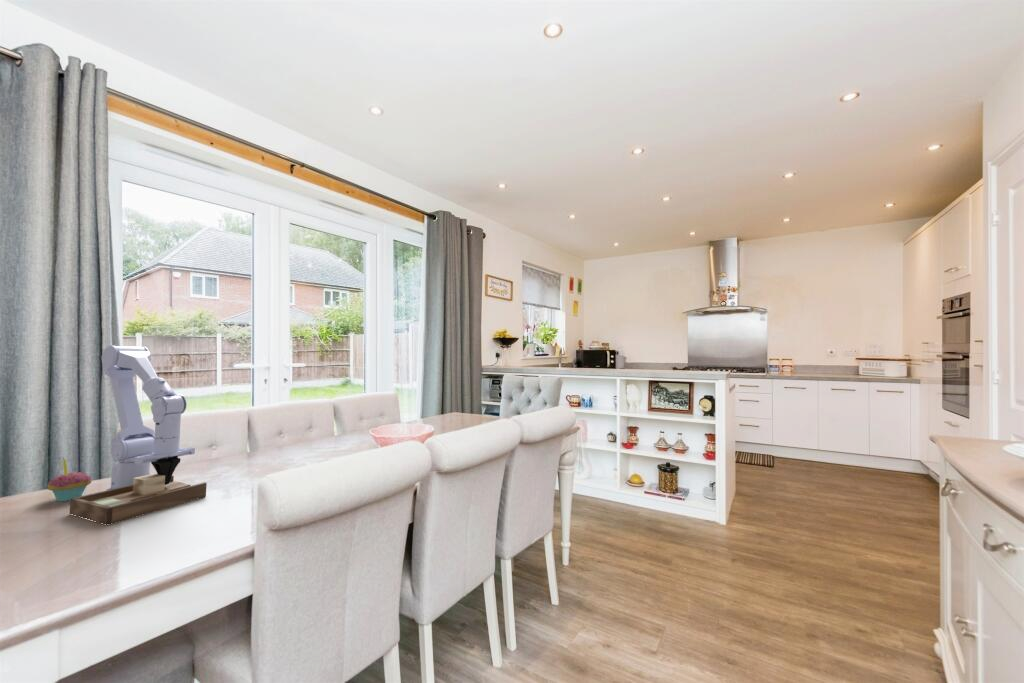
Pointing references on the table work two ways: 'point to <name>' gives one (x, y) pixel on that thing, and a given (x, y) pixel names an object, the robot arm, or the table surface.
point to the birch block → (148, 484)
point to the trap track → (133, 501)
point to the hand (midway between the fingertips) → (164, 484)
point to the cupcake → (69, 484)
